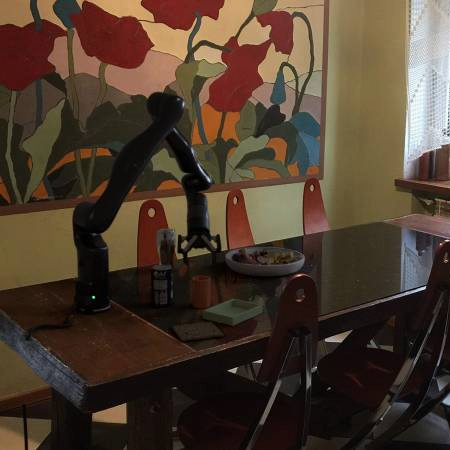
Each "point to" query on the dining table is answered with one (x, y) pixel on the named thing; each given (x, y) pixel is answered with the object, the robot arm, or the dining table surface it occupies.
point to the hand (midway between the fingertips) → (200, 263)
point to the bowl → (264, 261)
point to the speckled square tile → (197, 331)
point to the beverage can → (161, 285)
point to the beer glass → (166, 247)
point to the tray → (232, 312)
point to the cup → (201, 291)
